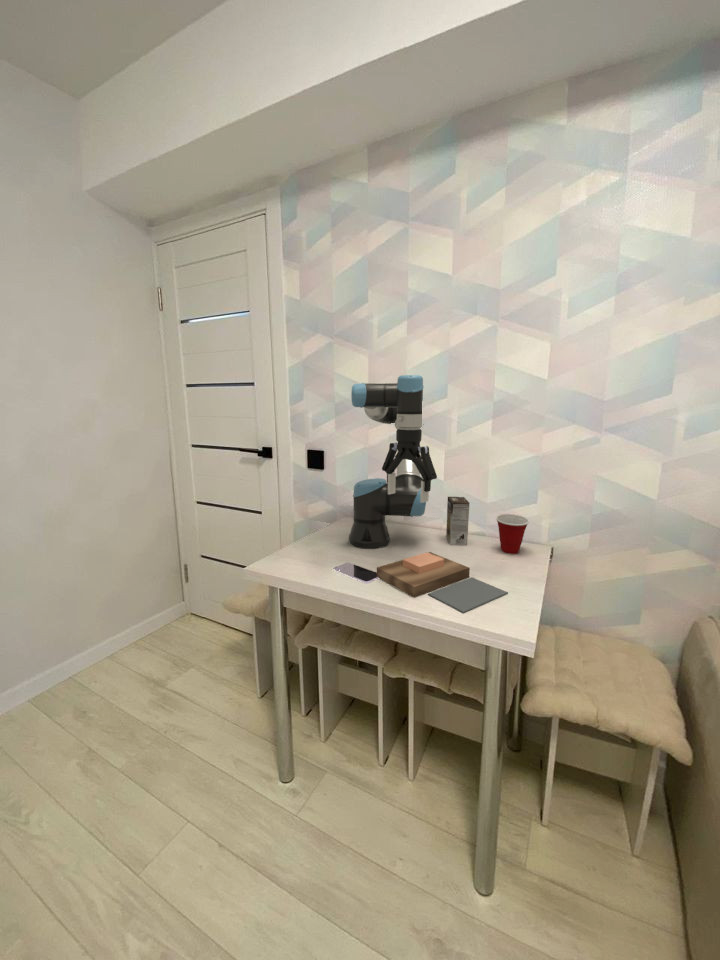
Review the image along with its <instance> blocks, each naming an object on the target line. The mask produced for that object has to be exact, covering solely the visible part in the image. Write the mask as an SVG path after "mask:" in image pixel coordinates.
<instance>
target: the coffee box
mask: <svg viewBox="0 0 720 960" xmlns="http://www.w3.org/2000/svg"><path fill="white" fill-rule="evenodd" d="M446 504H447V505H446V506H447V509H446V512H447V513H446V530H445V531H446V536H445V537H447V538H446V540H447V539H448V540H447V541H448V543H449V545H450V546H468V536H469V519H470V515H469V514H470V502H469V501H468V499H466V497H464V496H447V503H446Z"/></svg>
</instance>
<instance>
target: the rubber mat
mask: <svg viewBox="0 0 720 960" xmlns="http://www.w3.org/2000/svg"><path fill="white" fill-rule="evenodd" d="M508 594H509V592H508V591H506V590H503V589H501V588H498V587H496V586H495V585H491V584H490V583H487V582H484V581H482V580H479V579H477V578H475V577H469V578H466V579H463V580H461V581H458V582H455V583H453V584H450V585H447V586H444V587H442V588H439V589H436V590H434V591H431V592H428V593H427V596H428V597H431V598H433V599H435V600H437V601H439V602H441V603H443V604H444V605H446V606H448V607H450V608H452V609H455V610H456V611H458V612H460V613H462V614H465V613H467V612H470V611H473V610H475V609H477V608H479V607H481V606H483V605H486V604H489V603H490V602H493V601H495V600H496V599H499V598H503V597H504V596H506V595H508Z"/></svg>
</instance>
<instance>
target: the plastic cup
mask: <svg viewBox="0 0 720 960" xmlns="http://www.w3.org/2000/svg"><path fill="white" fill-rule="evenodd" d="M495 520H496V521H497V526H498V535H499V544H500V551H501V550H502V551H501V552H502V553H506V554H508V553H510V554H511V555H516V554H518V553H519V552H520V550H521V546H522V543H523V539H524V535H525V533H526V529H527V527H528V525H529V523H530V519H529V518H527V517H525V516H522V515H519V514H515V513H514V514H511V513H502V514H501V513H500V514H499V515H496V516H495Z"/></svg>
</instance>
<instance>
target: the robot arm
mask: <svg viewBox="0 0 720 960" xmlns="http://www.w3.org/2000/svg"><path fill="white" fill-rule="evenodd" d="M424 388H425V387H424V378H423V375H419V374H404V375H403V374H402V375H399V376H398V377H397V382H394V383H391V382H390V383H368V382H367V383H364V382H361V383H354V384H353V385H352V386H351V393H350V394H351V405H352V406H353V407H354V408H363V409H364V413H365V416H367V417H368V418H369V419H370V420H373V421H375V422H377V423H381V424H386V425H392V424H391V423H395V424H394V427H395V429H396V430H395V431H396V439H395V441H396V442H391V443H389V446H388V447H389V448H388V452H387V453H386V457H385V459H384V462H383V465H382V467H381V471H383V472H385V473H386V479H385V478H379V477H378V478H369V479H363V480H360V481H358V482H356V483H355V484H354V486H353V495H352V497H353V523H352V526H351V529H350V533H349V535H348V543H349V545H350V546H352V547H355V548H358V549H365V550H366V549H368V550H369V549H370V550H374V549H382V548H385V547H387V546H388V545H390V543H391V539H390V538H391V537H390V536H391V535H390V532H389V530H388V526H387V523H386V516H389V517H390V516H392V517H421V516H423V515H424V514H425V512H426V506H427V503H428V502H429V493H430V491H431V485H432V480H437V478H438V475H437V473H436V469H435V467H434V466H435V465H434V464H433V461H432V458H431V454H430V447H429V446H428V445H426V446H421V441H422V431H423V430H422V429H420V428H421V427H422V401H423V397H424V396H423V395H424ZM422 428H423V427H422Z"/></svg>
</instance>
